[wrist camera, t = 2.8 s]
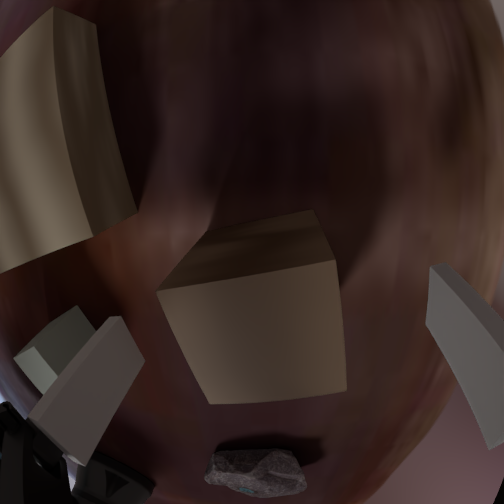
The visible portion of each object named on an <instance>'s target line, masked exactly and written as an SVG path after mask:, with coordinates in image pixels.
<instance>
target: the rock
mask: <svg viewBox="0 0 504 504" xmlns="http://www.w3.org/2000/svg"><path fill="white" fill-rule="evenodd" d="M204 478H205V480H206V481H207V482H208V483H210V484H215V485H227V486H228V487H229V488H230V489H233V490H236V491H239V492H242V493H245V494H247V495H250V496H255V497H260V498H268V497H274V496H284V495H291V494H297V493H299V492H302V491H304V490H305V489H306V488H307V484H306V481H305V477H304V472H303V471H302V469H301V467H300V465H299V463H298V461H297V459H296V458H295V456H294V455H293V453H292V451H289V450H283V449H278V448H274V449H257V450H254V449H247V450H233V451H228V450H226V451H219V452H216V453H213V455H212V458H211V459H210V461H209V464H208V466H207V468H206V471H205V476H204Z"/></svg>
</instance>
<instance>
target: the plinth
mask: <svg viewBox="0 0 504 504" xmlns="http://www.w3.org/2000/svg"><path fill="white" fill-rule="evenodd" d="M136 213H138V211H137V208H136V205H135V202H134V199H133V196H132V193H131V189H130V186H129V183H128V179H127V176H126V172H125V169H124V165H123V162H122V158H121V154H120V151H119V147H118V143H117V139H116V135H115V131H114V127H113V122H112V118H111V114H110V109H109V104H108V99H107V95H106V89H105V84H104V79H103V73H102V67H101V60H100V54H99V47H98V39H97V30H96V24H94V23H92V22H90V21H87V20H85V19H83V18H81V17H79V16H76V15H74V14H72V13H70V12H67V11H65V10H62V9H60V8H57V7H55V6H53V7H51V8H50V9H49V10H48V11H47V12H46V13H44V14H43V15H42V16H41V17H40V18H39V19H38V20H37V21H35V22H34V23H33V24H32V25H31V26H30V27H29V28H28V29H27V30H26V31H25V32H24V33H23V34H22V35H21V36H20V37H19V38H18V39H17V40H16V41H15V42H14V43H13V44H12V45H11V47H10V48H9V49H8V50H7V51H6V52H5V53H4V54H3V55H2V57H1V58H0V273H3V272H5V271H7V270H9V269H12V268H14V267H16V266H19V265H21V264H24V263H26V262H28V261H31V260H33V259H36V258H38V257H41V256H43V255H46V254H48V253H51V252H53V251H56V250H58V249H61V248H64V247H66V246H69V245H72V244H74V243H77V242H80V241H83V240H85V239H88V238H91V237H94V236H95V235H97V234H99V233H101V232H102V231H104V230H106V229H108V228H110V227H112V226H113V225H115V224H117V223H119V222H121V221H123V220H125V219H127V218H128V217H130V216H132V215H134V214H136Z"/></svg>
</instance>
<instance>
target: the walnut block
mask: <svg viewBox="0 0 504 504" xmlns="http://www.w3.org/2000/svg"><path fill="white" fill-rule="evenodd" d="M155 292H156V294H157V297H158V299H159V301H160V304H161V306H162V308H163V311H164V313H165V315H166V317H167V320H168V322H169V324H170V326H171V329H172V331H173V333H174V335H175V337H176V339H177V341H178V344H179V346H180V348H181V350H182V352H183V354H184V356H185V358H186V360H187V362H188V364H189V366H190V368H191V370H192V372H193V374H194V376H195V377H196V379H197V381H198V383H199V385H200V387H201V389H202V391H203V392H204V394H205V396H206V398H207V400H208V401H209V403H210V404H236V403H255V402H269V401H279V400H289V399H297V398H305V397H312V396H319V395H325V394H331V393H337V392H342V391H347V384H346V362H345V345H344V332H343V320H342V309H341V299H340V290H339V282H338V274H337V266H336V259H335V257H334V255H333V252H332V250H331V248H330V245H329V243H328V241H327V239H326V236H325V234H324V232H323V230H322V228H321V225H320V223H319V221H318V219H317V217H316V215H315V212H314V210H313V209H312V210H306V211H301V212H296V213H291V214H286V215H281V216H276V217H272V218H267V219H262V220H257V221H252V222H248V223H243V224H238V225H234V226H229V227H225V228H220V229H216V230H211V231H207V232H206V233H205V234H204V235H203V236H202V237H201V238H200V239H199V240H198V242H197V243H196V244H195V245H194V246H193V247H192V248H191V250H190V251H189V252H188V253H187V254H186V255H185V256H184V258H183V259H182V260H181V261H180V262H179V263H178V265H177V266H176V267H175V268H174V269H173V271H172V272H171V273H170V274H169V275H168V276H167V278H166V279H165V280H164V281H163V282H162V284H161V285H160V286H159V287H158V288H157V290H156V291H155Z"/></svg>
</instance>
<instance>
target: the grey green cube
mask: <svg viewBox="0 0 504 504" xmlns="http://www.w3.org/2000/svg"><path fill="white" fill-rule="evenodd" d="M95 333H96V330H95V329H94V328H93V326H92V325H91V324H90V322H89V321H88V320H87V318H86V317H85V315H84V314H83V313H82V311H81V310H80V308H79V307H78V305H76V306H75V307H73V308H72V309H70V310H68V311H67V312H65V313H64V314H62V315H61V316H59V317H58V318H56V319H55V320H53V321H52V322H50V323H49V324H48V325H47V326H46V327H45V328H43V329H42V330H41V331H40V332H39V333H38V334H37V335H36V336H35V337H34V338H33V339H32V340H31V341H30V342H29V343H28V344H27V345H26V346H25V347H24V348H23V349H22V350H21V351H20V352H19V353H18V354H17V355H16V356H15V357H14V358H13V359H14V360H15V362H16V363H17V364H18V365H19V367H20V368H21V369H22V371H23V372H24V373H25V374H26V375H27V377H28V378H29V379H30V380H31V381H32V383H33V384H34V385H35V386H36V387H37V388H38V390H39V391H40V392H41V393H42V394H43V395H44V394H45V393H46V391H47V390H48V389H49V387H50V386H51V385H52V384H53V382H54V381H55V380H56V379H57V377H58V376H59V375H60V374H61V373H62V371H63V370H64V369H65V368H66V366H67V365H68V364H69V363H70V362H71V360H72V359H73V358H74V357H75V356H76V354H77V353H78V352H79V351H80V350H81V349H82V347H83V346H84V345H85V344H86V343H87V342H88V341H89V339H90V338H91V337H92V336H93V335H94V334H95Z"/></svg>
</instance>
